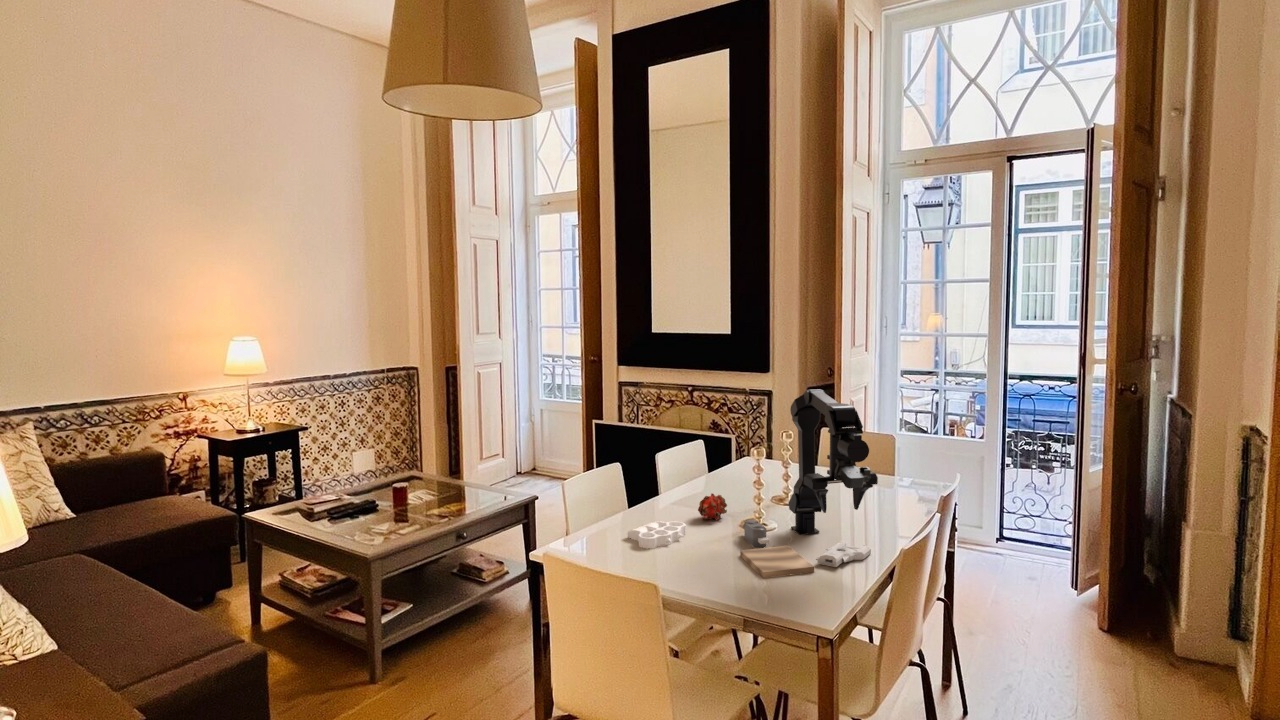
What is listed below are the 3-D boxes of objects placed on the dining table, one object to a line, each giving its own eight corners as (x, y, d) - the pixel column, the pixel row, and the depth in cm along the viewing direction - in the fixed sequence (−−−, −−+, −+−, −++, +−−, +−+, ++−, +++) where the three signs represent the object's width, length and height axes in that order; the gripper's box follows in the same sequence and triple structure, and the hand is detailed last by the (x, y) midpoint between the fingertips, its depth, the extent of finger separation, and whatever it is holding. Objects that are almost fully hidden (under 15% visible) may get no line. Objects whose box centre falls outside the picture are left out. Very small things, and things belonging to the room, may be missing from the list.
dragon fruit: (726, 518, 229) (704, 533, 221) (708, 500, 233) (685, 514, 225) (737, 501, 225) (715, 516, 216) (718, 483, 228) (696, 497, 220)
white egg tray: (659, 526, 219) (696, 536, 209) (619, 542, 206) (657, 553, 196) (659, 516, 219) (696, 525, 209) (619, 531, 206) (657, 542, 196)
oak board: (740, 555, 192) (740, 550, 192) (787, 550, 195) (787, 545, 195) (763, 577, 176) (763, 572, 176) (814, 572, 180) (814, 566, 179)
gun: (850, 560, 178) (813, 553, 184) (850, 573, 178) (813, 566, 184) (873, 543, 193) (837, 537, 199) (872, 555, 193) (837, 549, 199)
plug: (740, 535, 209) (739, 518, 208) (752, 533, 210) (752, 517, 209) (758, 551, 195) (758, 533, 195) (771, 549, 196) (771, 532, 196)
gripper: (823, 463, 174) (822, 524, 175) (890, 457, 178) (889, 517, 180) (802, 452, 184) (802, 510, 186) (866, 448, 189) (865, 504, 190)
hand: (840, 510), depth 185 cm, fingers open, 9 cm apart
